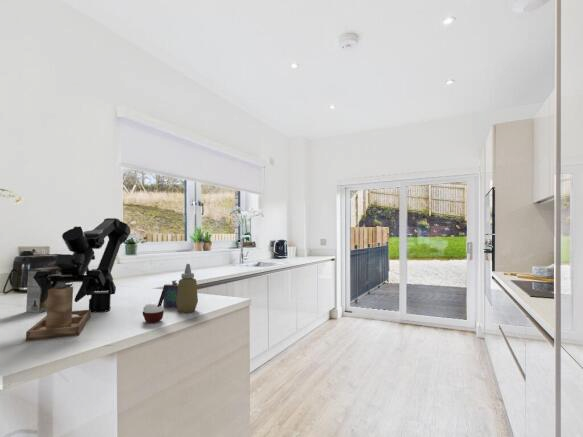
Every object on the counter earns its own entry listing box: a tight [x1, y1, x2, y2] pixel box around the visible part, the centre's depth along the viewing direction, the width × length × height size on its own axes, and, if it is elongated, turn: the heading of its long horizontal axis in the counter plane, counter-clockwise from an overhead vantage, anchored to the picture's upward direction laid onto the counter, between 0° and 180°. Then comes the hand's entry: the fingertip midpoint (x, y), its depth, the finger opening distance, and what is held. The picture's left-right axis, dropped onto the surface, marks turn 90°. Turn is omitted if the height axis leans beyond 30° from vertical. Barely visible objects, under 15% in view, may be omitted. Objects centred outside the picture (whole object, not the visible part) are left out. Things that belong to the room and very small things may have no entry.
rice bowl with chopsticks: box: [142, 285, 167, 324], centre depth 104 cm, size 10×6×12 cm, turn 48°
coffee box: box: [25, 266, 63, 313], centre depth 121 cm, size 9×6×16 cm
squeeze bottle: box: [176, 263, 199, 314], centre depth 120 cm, size 8×8×18 cm
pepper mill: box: [46, 281, 74, 329], centre depth 93 cm, size 5×5×14 cm
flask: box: [162, 280, 179, 309], centre depth 127 cm, size 9×3×11 cm, turn 71°
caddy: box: [25, 309, 92, 342], centre depth 97 cm, size 12×23×2 cm, turn 26°
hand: (58, 301), depth 93 cm, fingers open, 9 cm apart
